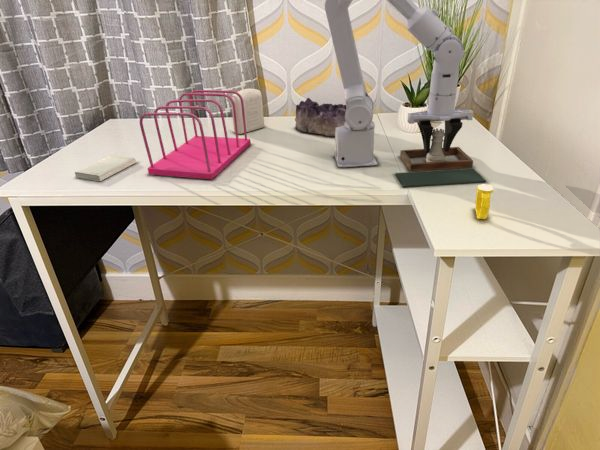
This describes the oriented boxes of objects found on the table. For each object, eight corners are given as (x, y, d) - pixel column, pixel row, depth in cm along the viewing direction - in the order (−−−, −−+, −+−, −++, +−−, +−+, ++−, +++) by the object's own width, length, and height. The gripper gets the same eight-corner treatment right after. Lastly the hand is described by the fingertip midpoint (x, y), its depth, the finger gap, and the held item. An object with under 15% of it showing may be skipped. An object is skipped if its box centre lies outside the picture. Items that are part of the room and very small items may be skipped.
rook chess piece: (445, 166, 102) (449, 133, 98) (425, 165, 103) (429, 132, 99) (443, 159, 106) (447, 127, 102) (424, 158, 107) (428, 127, 103)
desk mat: (403, 187, 93) (403, 185, 93) (395, 174, 99) (395, 173, 99) (485, 182, 93) (485, 180, 93) (472, 169, 100) (473, 168, 99)
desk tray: (410, 171, 100) (410, 164, 99) (400, 156, 109) (400, 150, 108) (472, 167, 101) (473, 160, 100) (457, 153, 109) (458, 146, 108)
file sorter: (148, 175, 106) (132, 111, 98) (196, 141, 127) (186, 87, 119) (212, 180, 101) (201, 114, 94) (251, 144, 122) (245, 87, 114)
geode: (285, 134, 128) (284, 100, 125) (302, 128, 138) (302, 96, 134) (350, 139, 120) (350, 101, 116) (363, 132, 129) (364, 97, 126)
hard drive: (99, 175, 103) (134, 157, 113) (74, 171, 106) (111, 154, 116) (100, 182, 104) (136, 163, 114) (76, 178, 107) (112, 159, 117)
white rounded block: (258, 124, 139) (254, 85, 132) (266, 127, 136) (263, 87, 130) (232, 132, 132) (227, 91, 126) (240, 135, 130) (235, 93, 124)
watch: (470, 207, 84) (475, 179, 81) (485, 208, 83) (491, 180, 80) (474, 223, 79) (479, 193, 76) (490, 224, 78) (496, 194, 75)
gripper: (415, 99, 93) (410, 158, 100) (482, 95, 93) (472, 154, 100) (407, 91, 99) (402, 148, 106) (469, 88, 99) (461, 144, 106)
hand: (436, 150), depth 103 cm, fingers open, 4 cm apart
